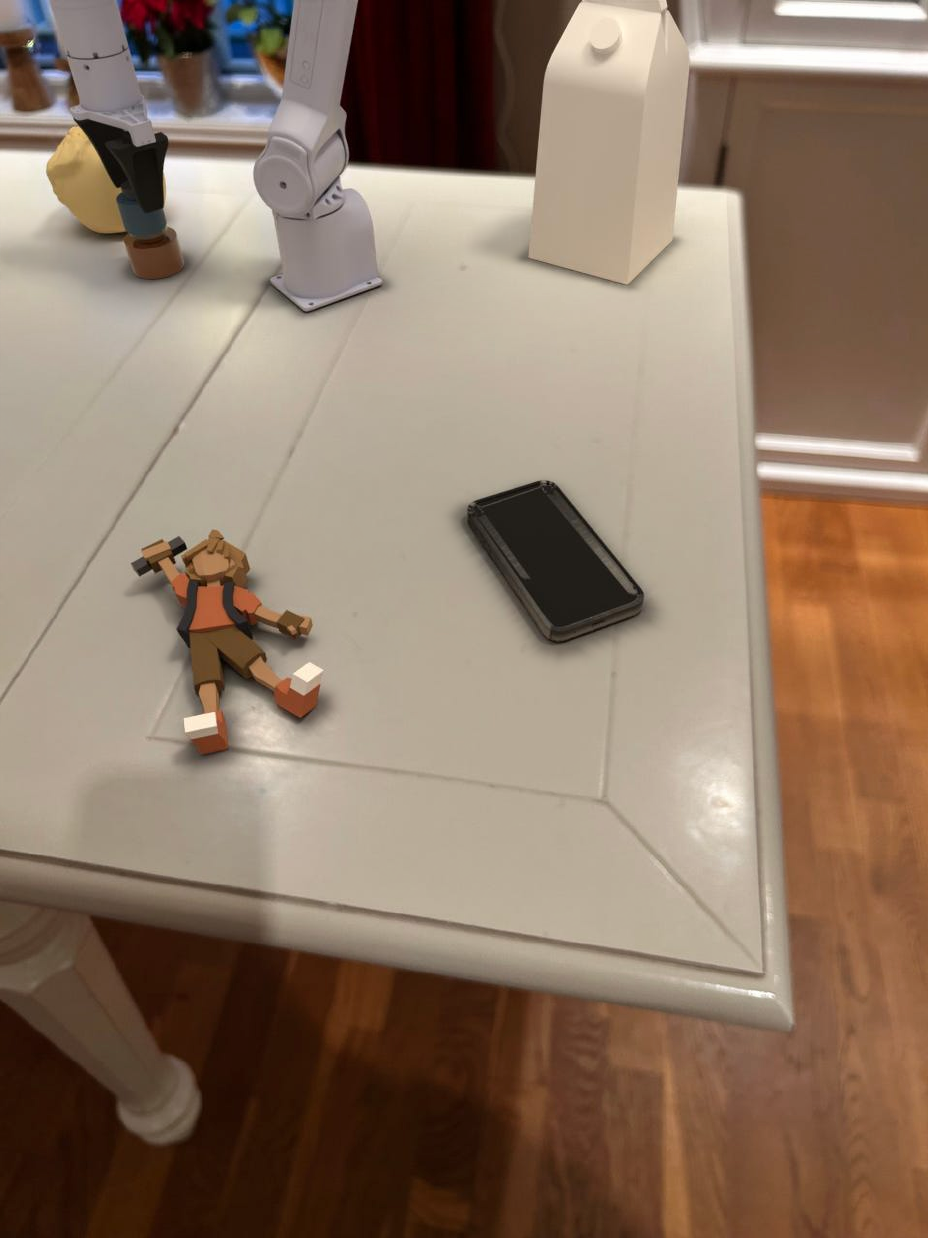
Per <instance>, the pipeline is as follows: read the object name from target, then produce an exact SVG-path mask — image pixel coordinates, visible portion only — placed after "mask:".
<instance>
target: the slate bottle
mask: <svg viewBox="0 0 928 1238" xmlns="http://www.w3.org/2000/svg"><path fill="white" fill-rule="evenodd" d="M120 187H121V190H122V193H120V194H119V195H118V196H117V197H116V201H117V205H118V208H119V211H120V215H121V218H122V221H123V225H124V228H125V233H127V234H128V233H129V234H132V235H140V236H141V235H150V234H154V233H157V232H159V231H161V230H163V229H164V228H165V227H166V225H167V226H168V221H167V218H166V214H165V211H164V208H163V209H160V210H156V211H153V212H149V213H145V212H143V210H142V209H141V207H140V205H139V204H138V202H137V199H136V197H135V195H134V192H133V190H132V188H131V185H130V183H129V181H128V180H127V181H125V182H123V183H122V184H121V186H120Z"/></svg>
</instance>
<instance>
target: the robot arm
mask: <svg viewBox="0 0 928 1238" xmlns="http://www.w3.org/2000/svg"><path fill="white" fill-rule="evenodd" d="M48 2H49V5H50V8H51V10H52V14H53V17H54V21H55V24H56V26H57V30H58V34H59V36H60V40H61V44H62V46H63V50H64V53H65V56H66V59H67V62H68V66H69V69H70V73H71V75H72V79H73V83H74V85H75V89H76V91H77V95H78V98H79V99H78V100H79V104H77V105H73V106H71V107H70V108H69V112H70V115H71V117H72V119H73V121H74V123H75V124H76V125H77V126H79V127H80V128H81V129H82V130H83V132H84V133H85V134H86V136H87V137H88V139H89V140H90V142H91V143H92V145H93V146H94V148H95V150H96V152H97V153H98V155H99V157H100V159H101V161H102V163H103V165H104V167H105V169H106V171H107V173H108V175H109V177H110V179H111V180H112V182H113V184H114V185H115V187H116V188H120V186H121V184H122V183H123V182H125V181H127V180H128V181H129V183H130V185H131V188H132V190H133V192H134V195H135V197H136V199H137V202H138V204H139V205H140V207H141V209H142V210H143V212H145V213H149V212H153V211H156V210H160V209H163V210H164V208H165V205H164V187H163V172H164V167H165V160H166V156H167V151H168V148H169V145H170V143H169V137H168V136H167V135H166V134H165V133H164V132H162V131H159V132H154V127H153V124H152V121H151V119H149V118H148V110H147V103H146V100H145V97H144V95H143V94H142V93H141V89H140V85H139V80H138V77H137V72H136V69H135V66H134V62H133V58H132V54H131V49H130V47H129V44H128V39H127V35H126V32H125V28H124V25H123V20H122V15H121V14H120V13H121V12H120V9H119V5H118V1H117V0H48ZM358 3H359V0H293V4H292V13H291V22H290V29H289V35H288V36H289V37H288V44H287V53H286V61H285V67H284V68H285V69H284V77H283V85H282V93H281V99H280V102H279V104H278V106H277V109H276V111H275V113H274V116H273V118H272V120H271V122H270V125H269V128H268V131H267V138H266V144H265V145H264V146H265V147H264V149H263V150H262V152H260V154H259V155H258V156H257V158H256V159H255V161H254V165H253V171H252V176H253V183H254V187H255V189H256V192H257V193H258V195H259V197H260V198H261V200H262V201H263V203H264V204H265V205H266V206H267V207H268V208H269V209H270V210H271V213H272V217H273V223H274V228H275V234H276V240H277V245H278V250H279V257H280V261H281V267H282V273H281V274H278V275H275V276H272V277H271V278H270V279H269V281H270V284H271V285H272V286H274V287H275V288H276V289H277V290H278V291H280V292H281V293H282V294H283V295H284V296H286V297H287V299H289V300H290V301H292V303H293V304H295V305H296V306H298V307H299V308H300V309H301V310H302V311H304V312H311V311H313V310H317V309H319V308H321V307H324V306H328V305H331V304H333V303H335V302H339V301H341V300H344V299H346V298H349V297H351V296H354V295H357V294H360V293H363V292H365V291H368V290H371V289H374V288H377V287H380V286H381V285H382V284H383V279H381V278H380V277H379V272H378V271H379V270H378V262H377V261H378V260H377V250H376V241H375V232H374V231H375V230H374V222H373V218H372V214H371V212H370V209H369V206H368V204H367V201H366V200H365V199H364V197H363V195H361V193H360V192H359V191H358V190H357V189H355V188H349V187H348V188H343V187H342V180H341V176H342V174H343V173H344V172H345V171H346V168H347V166H348V163H349V159H350V151H349V146H348V145H349V144H348V142H347V141H348V140H347V138H346V121H347V117H348V116H347V112H346V111H345V109H344V108H343V107H342V106H341V100H342V94H343V90H344V89H343V88H344V83H345V77H346V70H347V66H348V61H349V55H350V48H351V43H352V37H353V36H352V35H353V30H354V26H355V25H354V24H355V20H356V19H355V18H356V14H357V8H358Z"/></svg>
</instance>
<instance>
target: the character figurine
mask: <svg viewBox="0 0 928 1238" xmlns="http://www.w3.org/2000/svg"><path fill="white" fill-rule="evenodd" d="M185 551H186V552H185ZM183 552H184V553H183ZM141 553H142V556H141V557H140V558H138V559H136V560H134V561H132V562H130V565H131V567H132V569H133V571H134V572H135V574H137V576H138V577H139V578H140V577H142V576H143V575H145V574H147V573H149V572H150V571H153V573H154V574H157V573H160V572H161V571H162V572H163V573H164V575H165V577H166V579H167V580H168V582H169V584H170V585H171V587H172V590H173V592H174V595H175V597H176V599H177V601H178V604H179V605H180V606H182V607H184V608H185V609H184V612H183V615H182V617H181V619H180V621H179V622H178V625H177V627H176V632H177V633H178V635H179V637H180V638H181V639H182V640H183V642H184V643H185V645H186V647H187V648H188V649H190V656H191V657H190V658H191V668H192V681H193V689H194V692H195V696H197V697H199V699H200V701H201V705H202V706H203V712H204V713H203V712H202V713H199V715H198V714H197V715H193V716H188V717H184V718H183V725H184V734H185V735H186V736H187V737H188V738H189V740H190V741H191V742H192V743H193V744H194V745H196V747H197V749H198V751H199V754H200V755H201V756H202V755H206V754H211V753H217V752H220V751H225V750H229V744H228V733H227V723H226V718H225V715H224V714H223V711H222V709H220V693H221V692H223V691H225V689H226V686H225V676H224V670H223V663H222V660H223V661H225V662H226V663H227V664H228V665H229V666H230V667H231V668H232V669H233V670H234V671H235V672H237V673H238V674H240V675H241V676H243V677H244V678H245V679H247V680H248V679H250V678H251V677H253V679H254V680H255V681H256V682H257V683H259V684H261V685H263V687H266V688H268V690H270V691H271V692H273V701H274V702H275V703H276V704H277V705H278V706H279V707H280V708H283V710H285V711H288V712H289V713H290V714H293V715H294V716H296V717H298V718H300V719H301V718H302V717H304V716H305V715H306V714H308V713H309V712H311V711H312V710H313V709H315V708H316V707H317V704H318V700H319V695H320V689H321V683H322V678H323V675H324V669H323V668H321V667H319V666H317V665H316V664H314V663H313V662H310V661H308V662H307V663H305V664H304V665H302V666H301V667H300V668H299V669H297V670H296V671H295V672H292V676H291V678H290V677H286V678H285V679H281V678H280V677H279V676H278V675H277V674H276V673H275V672H274V671H273V670H272V668H270V666H269V665H268V664H266V663H267V661H268V658H267V654H266V652H265V651H264V650H263V649H262V648H261V647H260V646H259V645H258V644H257V643H256V642H255V641H254V640H253V639H254V635H253V632H252V630H251V626H254V625H255V624H257V623H258V622H259V623H262V624H264V625H266V626H269V627H272V628H274V629H278V632H279V633H281V634H283V635H284V636H285V635H286V636H288V637H289V638H292V639H293V640H296V641H298V639H299V638H300V637H301V636H307V637H309V636H310V633H311V630H312V629H313V626H314V625H313V621H312V617H310V616H305V615H301V614H296V613H294V612H292V611H290V610H288V609H286V610H285V611H284V612H283V613H279V612H276V611H274V610H272V609H269V608H267V607H265V606H263V604H262V601H261V600H260V599H259V598H258V596H257V595H256V594H255V593H252V592H250V591H249V589H247V588H245V587H246V585H247V583H248V578H247V574H248V573H249V572H250V570H251V567H250V563H249V560H248V556H247V554H246V552H244V551H242V550H241V549H239V548H238V547H236V546H235V545H233V544H231V543H230V542H228V541H226V540H225V537H224V536H223V534H222V532H220V531H219V530H218V529H211V530H210V532H209V534H208V538H205V539H204V540H202V541H201V542H199V543H198V544H197V545H195V546H193V547H192V548H190V549H189V550H188V547H187V544H186V542H185V540H183V539H182V537H181V536H180V535H178V536H176V537H174V538H172V539H171V540H169V541H168V540H166V541H165V540H164V539H163V538H161V539H158V540H157V541H155V542H153V543H151V544H149V545H147V546H145V547H142V548H141ZM182 553H183V554H182ZM180 554H182V555H180ZM179 555H180V557H181V561H182V563H183V564H184V566H185V569H184V573H182V572H179V571H178V570H177V568H176V567H175V565H176V564H177V562H176V558H175V557H176V556H179ZM250 625H251V626H250Z"/></svg>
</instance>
